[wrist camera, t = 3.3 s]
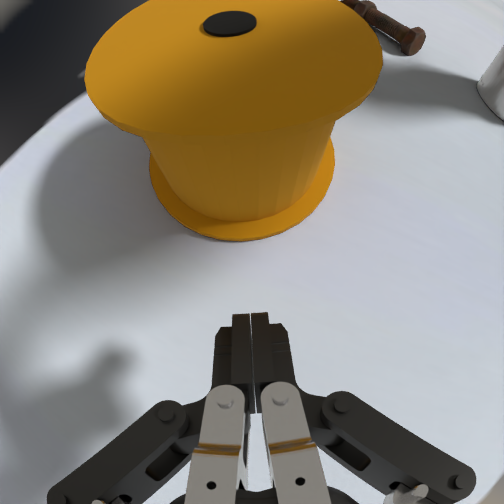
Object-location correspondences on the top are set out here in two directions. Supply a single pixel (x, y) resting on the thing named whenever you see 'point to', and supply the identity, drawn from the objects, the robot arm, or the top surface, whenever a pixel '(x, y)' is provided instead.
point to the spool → (235, 103)
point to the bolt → (389, 26)
